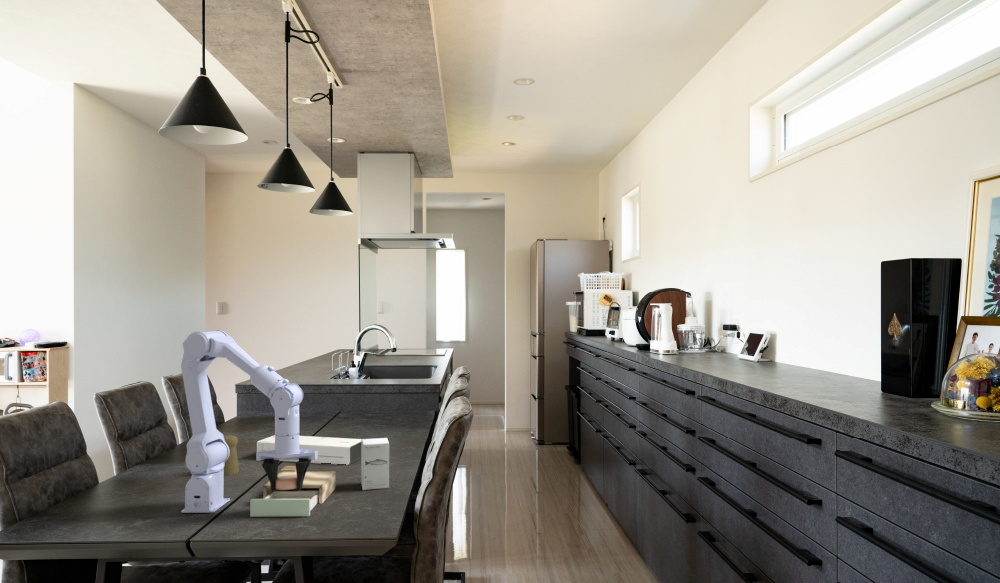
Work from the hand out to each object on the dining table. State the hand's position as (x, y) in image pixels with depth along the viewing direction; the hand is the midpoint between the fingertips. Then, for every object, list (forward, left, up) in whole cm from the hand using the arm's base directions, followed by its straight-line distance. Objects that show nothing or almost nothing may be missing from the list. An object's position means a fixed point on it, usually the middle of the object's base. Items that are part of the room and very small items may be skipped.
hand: (287, 489), depth 148 cm
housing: (+10, 0, -5) cm, 11 cm away
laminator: (+50, +9, -6) cm, 51 cm away
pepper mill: (+33, +29, -5) cm, 44 cm away
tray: (+2, 0, -5) cm, 6 cm away
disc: (0, 0, 0) cm, 1 cm away
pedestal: (+23, +7, -5) cm, 25 cm away
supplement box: (+19, -18, -5) cm, 27 cm away
